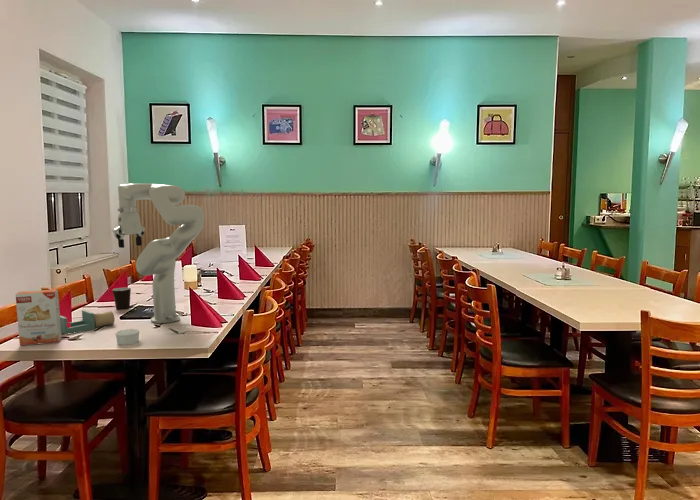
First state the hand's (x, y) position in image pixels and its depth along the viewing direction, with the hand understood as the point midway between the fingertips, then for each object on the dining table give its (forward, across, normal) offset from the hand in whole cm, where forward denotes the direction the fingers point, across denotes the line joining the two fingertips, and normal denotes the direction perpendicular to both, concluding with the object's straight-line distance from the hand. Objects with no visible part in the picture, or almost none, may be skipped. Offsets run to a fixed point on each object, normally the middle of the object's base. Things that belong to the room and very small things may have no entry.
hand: (130, 246), depth 262 cm
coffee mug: (+33, +8, +18) cm, 39 cm away
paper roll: (+33, -21, -5) cm, 40 cm away
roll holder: (+33, -31, -1) cm, 45 cm away
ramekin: (+33, -33, -38) cm, 61 cm away
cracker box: (+33, -50, -7) cm, 60 cm away
